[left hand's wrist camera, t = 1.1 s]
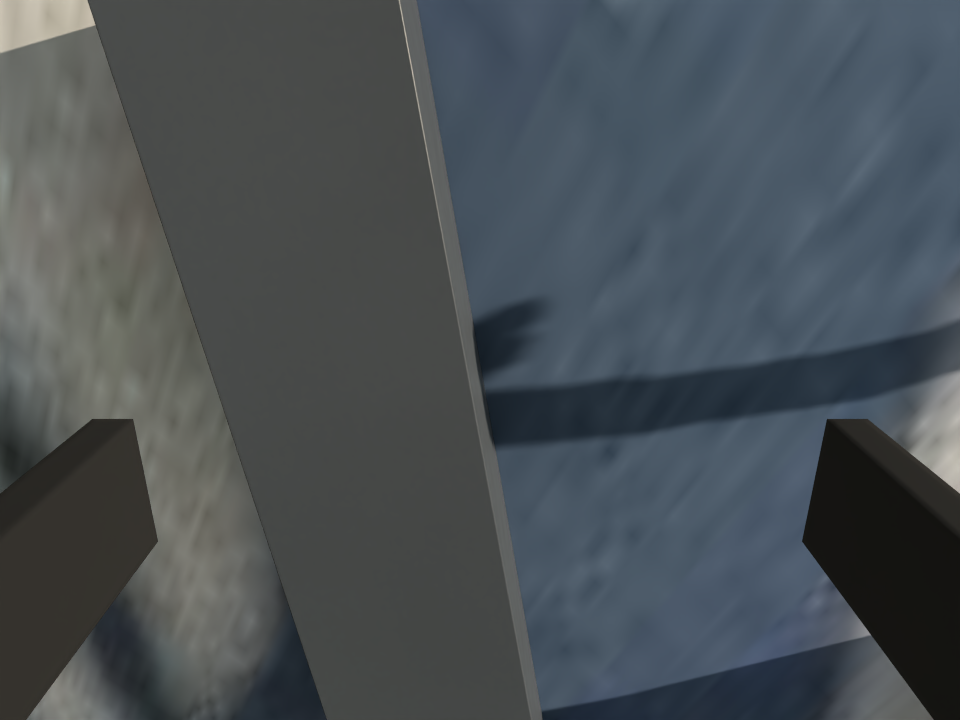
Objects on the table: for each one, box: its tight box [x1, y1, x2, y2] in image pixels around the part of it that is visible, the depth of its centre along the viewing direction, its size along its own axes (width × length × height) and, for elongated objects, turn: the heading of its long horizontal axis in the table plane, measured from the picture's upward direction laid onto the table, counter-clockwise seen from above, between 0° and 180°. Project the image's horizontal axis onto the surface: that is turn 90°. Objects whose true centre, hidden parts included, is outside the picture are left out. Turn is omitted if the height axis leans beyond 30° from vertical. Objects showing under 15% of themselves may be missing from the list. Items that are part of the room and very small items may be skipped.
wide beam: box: [88, 0, 543, 720], centre depth 34 cm, size 62×9×7 cm, turn 9°
